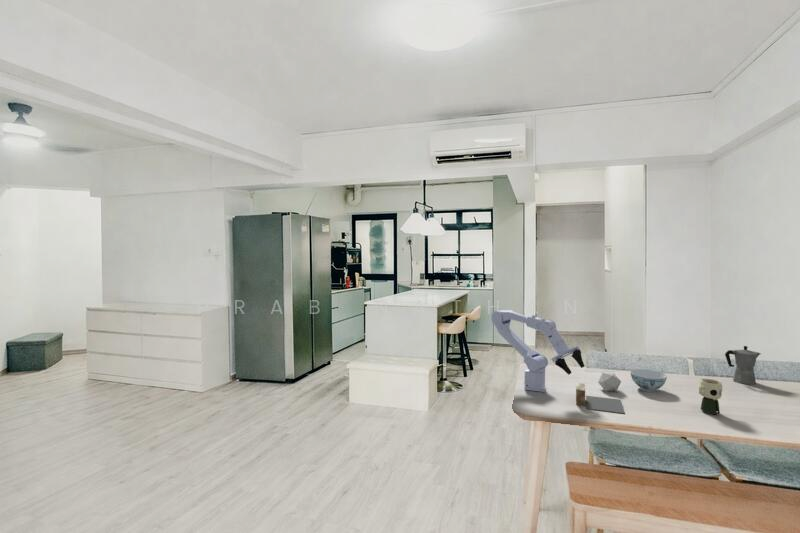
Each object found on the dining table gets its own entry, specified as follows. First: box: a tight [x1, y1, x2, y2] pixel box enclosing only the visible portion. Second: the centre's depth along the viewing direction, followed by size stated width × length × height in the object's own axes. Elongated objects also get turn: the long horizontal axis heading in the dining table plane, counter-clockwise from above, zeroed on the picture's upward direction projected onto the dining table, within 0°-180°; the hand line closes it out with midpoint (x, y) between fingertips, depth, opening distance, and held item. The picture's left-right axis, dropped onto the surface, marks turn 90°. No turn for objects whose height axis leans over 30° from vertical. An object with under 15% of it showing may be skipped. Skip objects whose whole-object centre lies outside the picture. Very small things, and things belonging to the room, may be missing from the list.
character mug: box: [698, 378, 723, 415], centre depth 174 cm, size 11×7×13 cm, turn 101°
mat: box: [585, 395, 625, 415], centre depth 184 cm, size 14×16×1 cm
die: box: [597, 372, 622, 392], centre depth 202 cm, size 8×9×10 cm
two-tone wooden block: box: [575, 382, 586, 407], centre depth 187 cm, size 4×9×7 cm, turn 158°
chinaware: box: [629, 368, 668, 393], centre depth 202 cm, size 15×15×8 cm
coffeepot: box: [724, 345, 761, 386], centre depth 212 cm, size 15×9×18 cm, turn 79°
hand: (576, 370), depth 190 cm, fingers open, 7 cm apart
